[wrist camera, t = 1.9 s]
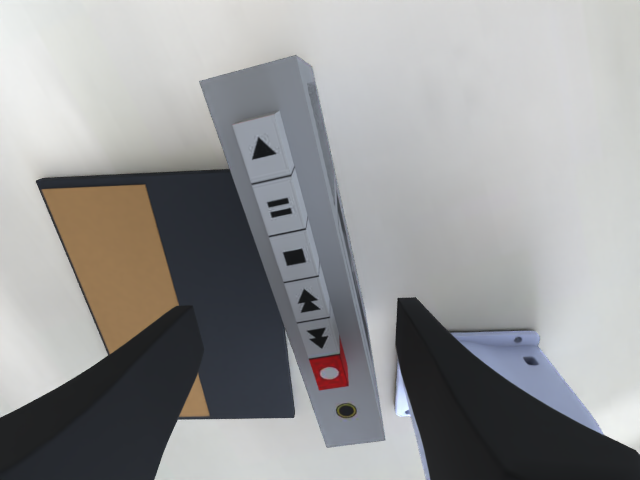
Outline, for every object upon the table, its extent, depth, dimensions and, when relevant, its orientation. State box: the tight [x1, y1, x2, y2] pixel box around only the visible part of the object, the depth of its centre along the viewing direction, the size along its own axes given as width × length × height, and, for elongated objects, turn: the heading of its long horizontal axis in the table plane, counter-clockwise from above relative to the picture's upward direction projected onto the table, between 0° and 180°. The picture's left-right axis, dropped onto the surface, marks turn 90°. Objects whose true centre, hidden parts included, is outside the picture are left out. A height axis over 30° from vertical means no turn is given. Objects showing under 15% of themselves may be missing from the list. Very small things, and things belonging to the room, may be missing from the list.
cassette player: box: [199, 55, 385, 448], centre depth 16 cm, size 16×3×10 cm, turn 13°
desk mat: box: [36, 169, 295, 420], centre depth 23 cm, size 13×20×1 cm, turn 3°
